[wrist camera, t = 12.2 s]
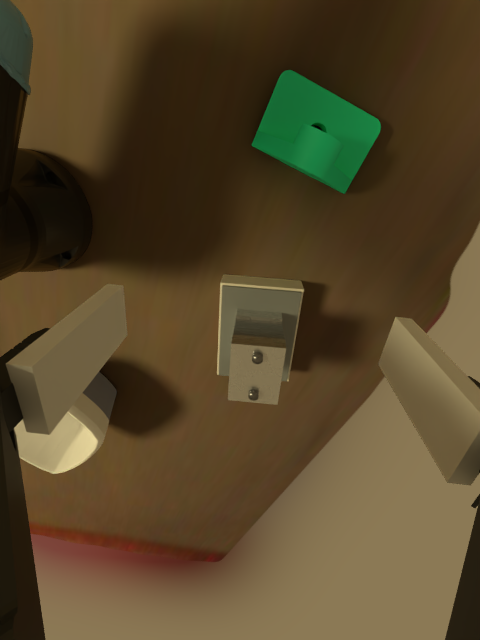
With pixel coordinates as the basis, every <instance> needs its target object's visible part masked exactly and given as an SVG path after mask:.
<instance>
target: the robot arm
mask: <svg viewBox="0 0 480 640" xmlns="http://www.w3.org/2000/svg"><path fill="white" fill-rule="evenodd" d="M32 50H33V38H32V34H31V30H30V28H29V25H28V23H27V22H26V20H25V18H24V16H23V15H22V13H21V12H20V11H19V10H18V8H17V7H16V6H15V5H14V4H13V3H12V2H11V1H10V0H0V280H2V279H4V278H6V277H8V276H11V275H13V274H15V273H17V272H45V271H53V270H57V269H60V268H63V267H65V266H67V265H69V264H71V263H73V262H74V261H76V260H77V259H78V258H80V257H81V256H82V254H83V253H84V252H85V250H86V249H87V247H88V245H89V242H90V239H91V234H92V217H91V212H90V208H89V205H88V202H87V200H86V197H85V195H84V193H83V191H82V190H81V188H80V186H79V185H78V183H77V182H76V181H75V179H74V178H73V177H72V176H71V175H70V174H69V173H68V171H67V170H65V169H64V168H63V167H62V166H61V165H60V164H58V163H57V162H56V161H54V160H53V159H51V158H49V157H48V156H46V155H44V154H41V153H39V152H36V151H33V150H29V149H22V148H18V144H19V138H20V133H21V127H22V122H23V117H24V111H25V106H26V100H27V95H30V93H31V88H30V86H29V84H28V83H29V75H30V67H31V59H32ZM126 336H127V325H126V312H125V300H124V288H123V286H121V285H113V284H107V285H106V286H104V287H103V288H102V289H100V290H99V291H98V292H97V293H95V294H94V295H93V296H92V297H90V298H89V299H88V300H86V301H85V302H84V303H83V304H81V305H80V306H79V307H77V308H76V309H75V310H74V311H72V312H71V313H70V314H69V315H67V316H66V317H65V318H63V319H62V320H61V321H60V322H58V323H57V324H56V325H55V326H53V327H52V328H51V329H50V328H45V329H42V330H40V331H37V332H35V333H33V334H31V335H30V336H28V337H27V338H26V339H24V340H23V341H22V343H19V344H18V345H16V346H15V347H14V349H11V350H9V351H8V352H7V353H5V354H4V355H3V356H1V357H0V640H45V633H44V626H43V619H42V612H41V605H40V598H39V592H38V584H37V577H36V571H35V564H34V556H33V549H32V542H31V535H30V528H29V521H28V514H27V507H26V500H25V493H24V486H23V479H22V472H21V465H20V458H19V451H18V444H17V437H16V433H15V430H14V428H15V427H16V426H17V424H18V423H19V422H20V421H21V420H22V419H23V422H24V425H25V429H26V432H29V433H37V434H46V435H50V434H51V432H52V431H53V430H54V429H55V427H56V426H57V425H58V423H59V422H60V421H61V420H62V418H63V417H64V416H65V414H66V413H67V412H68V411H69V409H70V408H71V407H72V405H73V404H74V403H75V402H76V400H77V399H78V398H79V396H80V395H81V394H82V393H83V391H84V390H85V389H86V387H87V386H88V385H89V384H90V382H91V381H92V380H93V379H94V377H95V376H96V375H97V373H98V372H99V371H100V370H101V368H102V367H103V366H104V364H105V363H106V362H107V361H108V359H109V358H110V357H111V355H112V354H113V353H114V352H115V350H116V349H117V348H118V346H119V345H120V344H121V343H122V341H123V340H124V339H125V337H126ZM378 365H379V367H380V368H381V370H382V372H383V373H384V375H385V377H386V378H387V380H388V382H389V384H390V385H391V387H392V388H393V391H394V392H395V394H396V396H397V397H398V399H399V401H400V403H401V404H402V406H403V407H404V409H405V411H406V413H407V415H408V416H409V418H410V419H411V421H412V423H413V425H414V427H415V428H416V430H417V432H418V433H419V435H420V437H421V439H422V440H423V442H424V444H425V445H426V447H427V449H428V451H429V452H430V454H431V456H432V457H433V459H434V461H435V463H436V464H437V466H438V468H439V469H440V471H441V473H442V475H443V476H444V478H445V480H446V481H447V483H456V484H464V485H471V484H472V483H473V481H474V480H475V478H476V477H477V475H478V474H479V473H480V383H479V382H478V381H476V380H475V379H473V378H472V377H470V376H467V375H466V374H465V373H464V372H463V371H462V370H461V369H460V368H459V367H458V366H457V365H456V364H455V363H454V362H453V361H452V360H451V359H450V358H449V357H448V356H447V355H446V354H445V353H444V352H443V351H442V350H441V348H440V347H439V346H438V345H437V344H435V342H434V341H433V340H432V339H431V338H430V337H429V336H428V335H427V334H426V333H425V332H424V331H423V330H422V329H421V328H420V327H419V326H418V325H417V324H416V323H415V322H414V321H413V320H412V319H409V318H401V317H395V320H394V323H393V325H392V328H391V331H390V333H389V336H388V339H387V342H386V344H385V347H384V350H383V352H382V355H381V358H380V361H379V363H378ZM471 506H472V507H473V508H476V507H477V506H478V509H477V513H476V517H475V521H474V525H473V529H472V533H471V537H470V541H469V545H468V549H467V553H466V557H465V561H464V565H463V569H462V573H461V578H460V582H459V586H458V590H457V594H456V598H455V602H454V606H453V610H452V614H451V618H450V622H449V626H448V630H447V634H446V638H445V640H480V494H479V496H478V497H477V499H476V500H475V501H474V503H473V504H472V505H471Z"/></svg>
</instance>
